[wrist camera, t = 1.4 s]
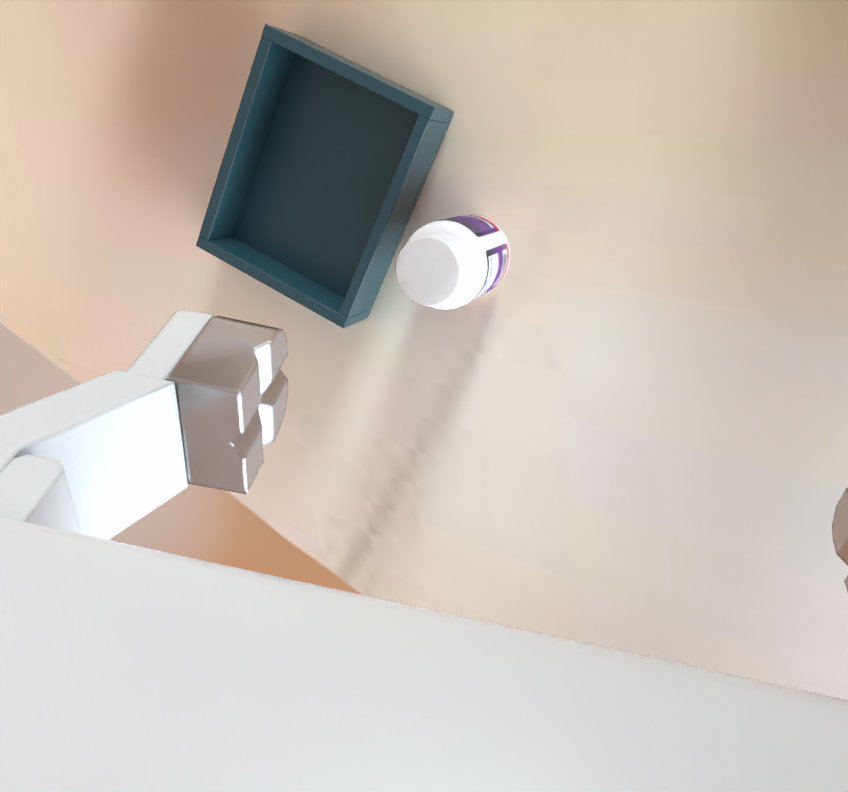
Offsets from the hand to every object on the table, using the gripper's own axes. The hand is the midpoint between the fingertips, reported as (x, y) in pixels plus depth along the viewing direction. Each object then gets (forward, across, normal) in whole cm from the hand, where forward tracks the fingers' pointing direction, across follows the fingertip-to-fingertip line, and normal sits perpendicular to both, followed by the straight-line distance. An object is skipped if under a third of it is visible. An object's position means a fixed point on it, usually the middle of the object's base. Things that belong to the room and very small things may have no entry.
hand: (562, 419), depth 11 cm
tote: (+42, +15, +17) cm, 48 cm away
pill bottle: (+40, +4, +19) cm, 44 cm away
